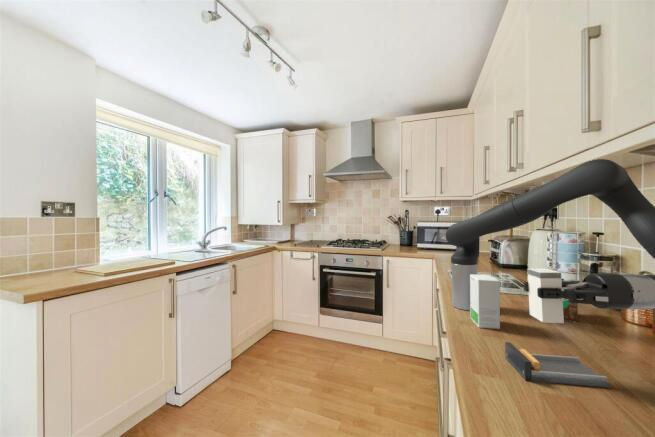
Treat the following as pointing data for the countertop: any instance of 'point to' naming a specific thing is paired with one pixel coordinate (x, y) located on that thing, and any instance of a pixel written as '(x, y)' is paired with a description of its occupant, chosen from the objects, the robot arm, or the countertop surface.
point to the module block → (541, 306)
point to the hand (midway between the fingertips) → (531, 289)
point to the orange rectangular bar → (534, 362)
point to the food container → (570, 310)
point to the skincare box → (485, 301)
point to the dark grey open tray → (554, 369)
